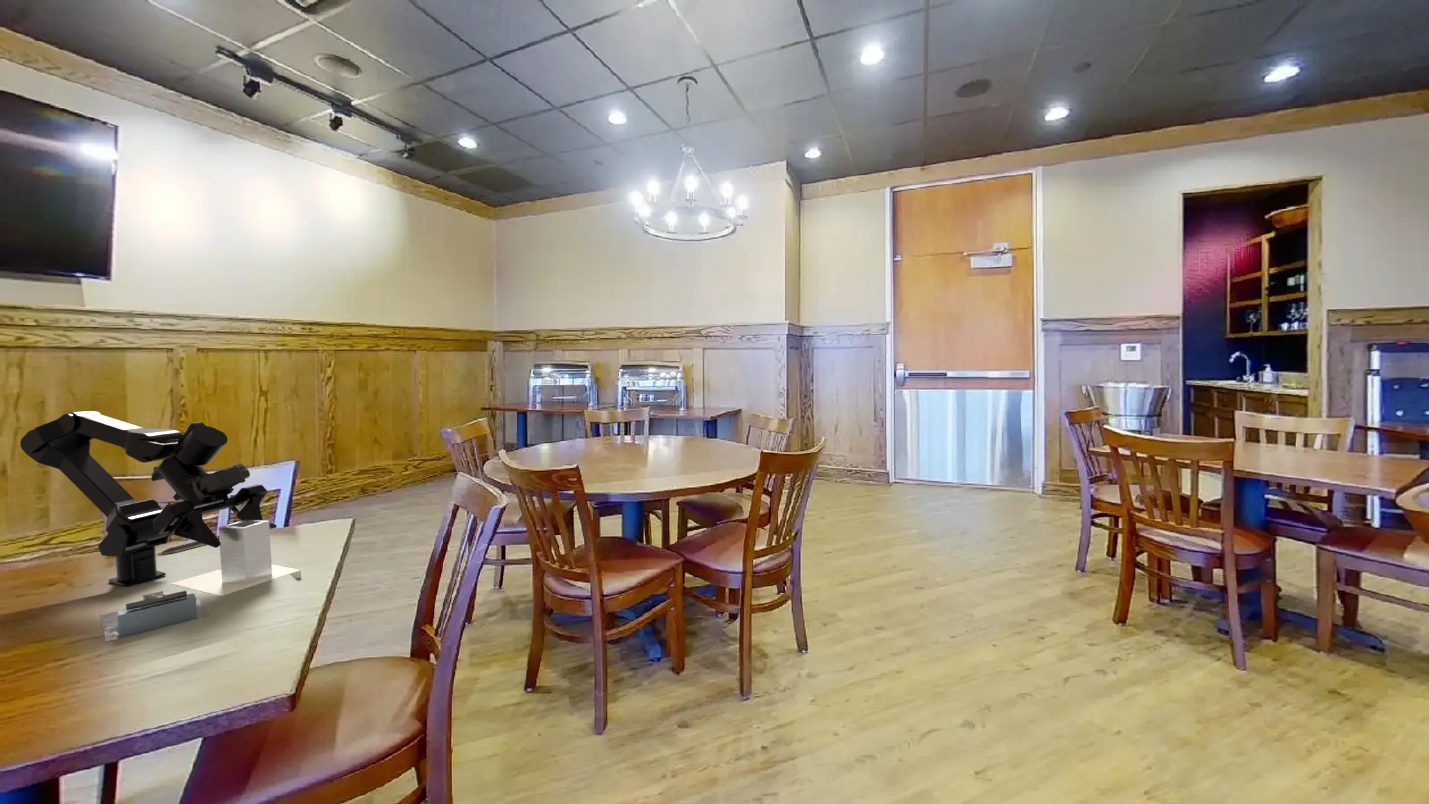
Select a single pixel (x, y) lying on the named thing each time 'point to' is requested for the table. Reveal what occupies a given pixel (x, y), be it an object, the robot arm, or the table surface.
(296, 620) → the table surface
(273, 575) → the cutting board
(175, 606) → the grey piece
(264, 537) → the square hollow tube
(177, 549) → the knife
